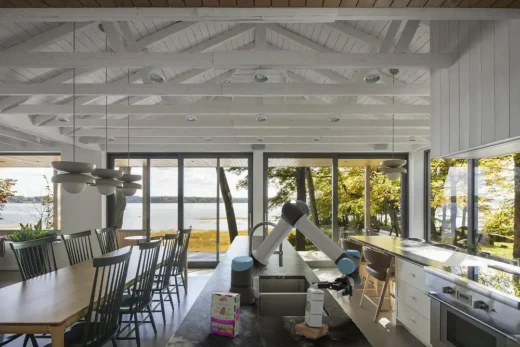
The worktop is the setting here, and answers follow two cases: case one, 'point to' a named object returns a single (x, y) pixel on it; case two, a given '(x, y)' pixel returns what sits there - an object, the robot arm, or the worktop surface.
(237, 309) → the candy bar box
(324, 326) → the wood block
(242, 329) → the worktop surface
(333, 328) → the worktop surface
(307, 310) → the syrup box
